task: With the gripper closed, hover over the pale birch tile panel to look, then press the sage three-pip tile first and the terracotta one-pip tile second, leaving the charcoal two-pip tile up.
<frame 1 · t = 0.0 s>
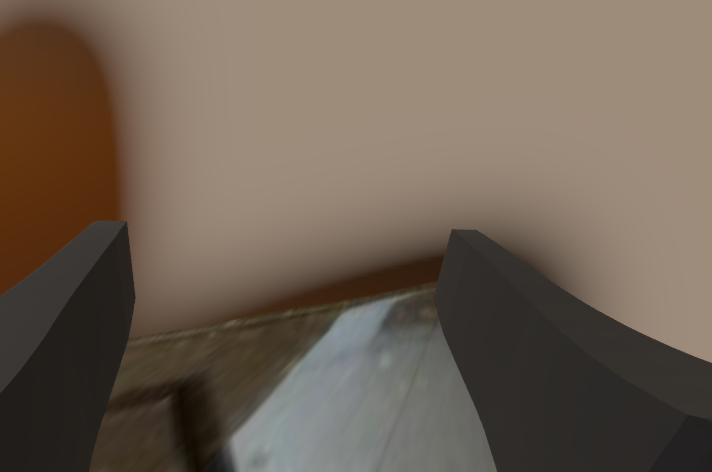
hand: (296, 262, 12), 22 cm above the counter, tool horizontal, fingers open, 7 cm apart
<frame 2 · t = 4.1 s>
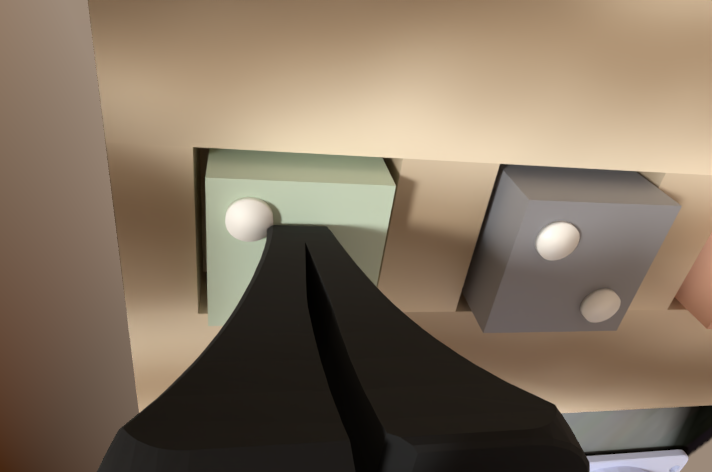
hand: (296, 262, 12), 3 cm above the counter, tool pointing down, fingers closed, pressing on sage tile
charcoal tile: (560, 252, 14), point 3 cm above the counter, slide at 0.0 cm
tile panel: (518, 201, 16), on the counter
sage tile: (294, 238, 13), point 2 cm above the counter, slide at 0.4 cm, touching gripper
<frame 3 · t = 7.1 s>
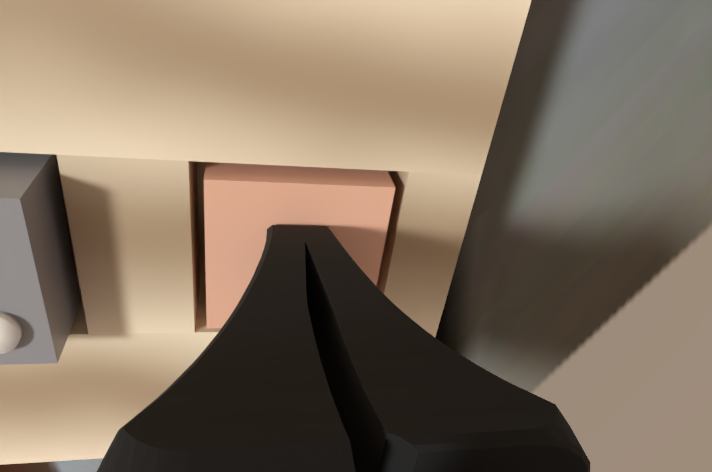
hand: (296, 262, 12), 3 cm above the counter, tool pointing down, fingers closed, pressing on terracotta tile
terracotta tile: (293, 240, 13), point 2 cm above the counter, slide at 1.0 cm, touching gripper, tile panel
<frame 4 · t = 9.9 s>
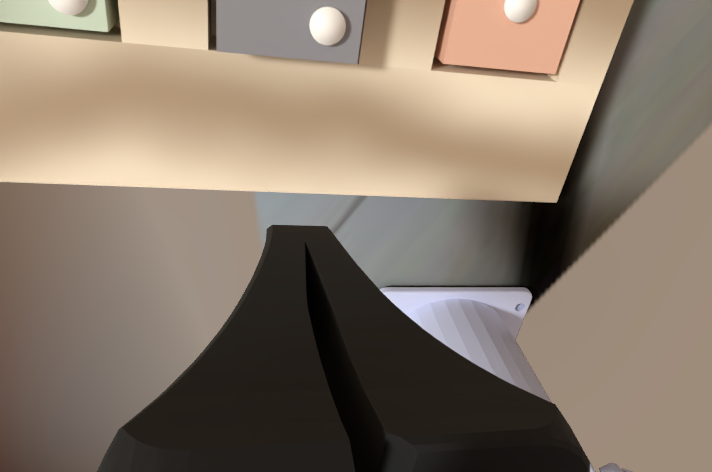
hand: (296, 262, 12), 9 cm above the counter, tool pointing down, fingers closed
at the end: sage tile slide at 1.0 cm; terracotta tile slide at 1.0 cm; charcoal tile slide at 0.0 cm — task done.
